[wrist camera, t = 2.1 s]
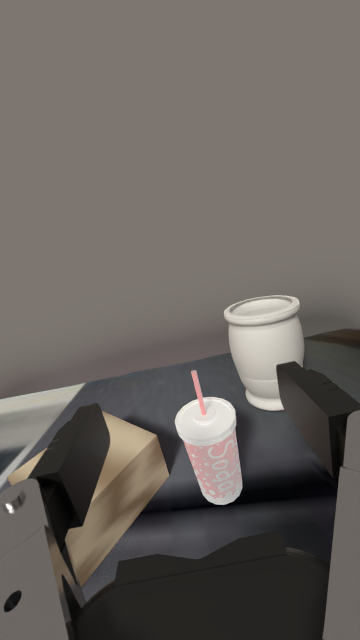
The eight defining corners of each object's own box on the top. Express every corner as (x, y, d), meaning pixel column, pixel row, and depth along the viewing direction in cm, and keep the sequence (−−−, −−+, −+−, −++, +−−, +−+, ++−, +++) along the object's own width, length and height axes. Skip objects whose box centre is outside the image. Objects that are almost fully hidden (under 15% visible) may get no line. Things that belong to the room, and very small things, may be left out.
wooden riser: (111, 442, 37) (98, 409, 35) (169, 475, 29) (156, 435, 27) (28, 516, 28) (6, 477, 27) (79, 590, 21) (52, 541, 19)
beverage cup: (195, 517, 24) (159, 396, 20) (192, 464, 30) (164, 363, 26) (257, 506, 23) (232, 381, 20) (242, 455, 29) (220, 351, 26)
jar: (251, 373, 46) (238, 297, 42) (313, 380, 40) (305, 291, 36) (229, 409, 38) (210, 319, 34) (303, 424, 32) (291, 316, 28)
